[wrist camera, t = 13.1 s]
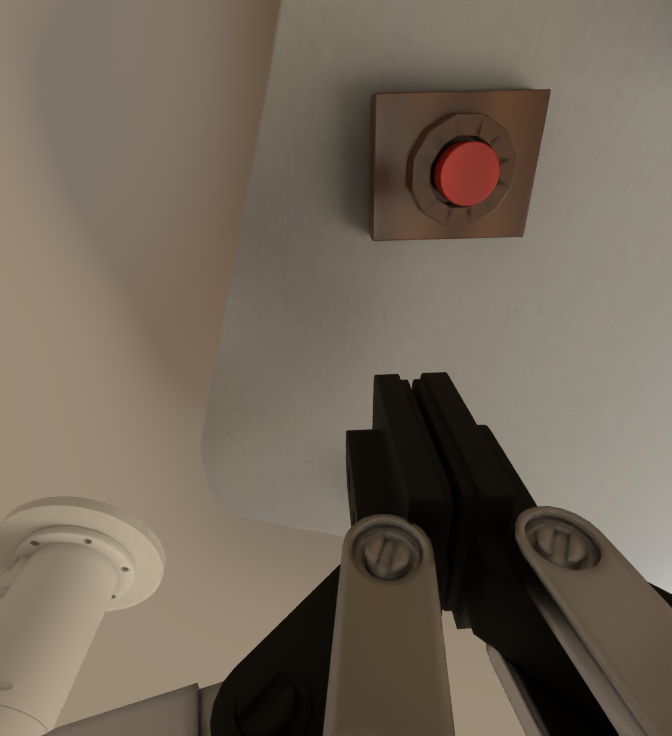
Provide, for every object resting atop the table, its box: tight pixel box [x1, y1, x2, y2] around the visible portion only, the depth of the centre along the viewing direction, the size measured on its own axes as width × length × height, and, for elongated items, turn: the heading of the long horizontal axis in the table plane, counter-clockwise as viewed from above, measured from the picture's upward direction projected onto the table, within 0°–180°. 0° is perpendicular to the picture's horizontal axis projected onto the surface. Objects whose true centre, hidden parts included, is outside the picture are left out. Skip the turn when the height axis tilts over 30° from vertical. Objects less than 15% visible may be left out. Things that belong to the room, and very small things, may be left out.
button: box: [434, 141, 499, 206], centre depth 27 cm, size 4×4×2 cm
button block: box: [369, 89, 551, 241], centre depth 29 cm, size 11×9×4 cm
